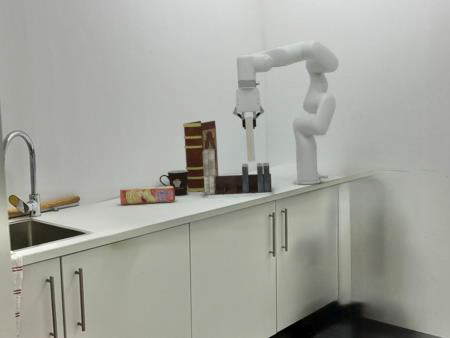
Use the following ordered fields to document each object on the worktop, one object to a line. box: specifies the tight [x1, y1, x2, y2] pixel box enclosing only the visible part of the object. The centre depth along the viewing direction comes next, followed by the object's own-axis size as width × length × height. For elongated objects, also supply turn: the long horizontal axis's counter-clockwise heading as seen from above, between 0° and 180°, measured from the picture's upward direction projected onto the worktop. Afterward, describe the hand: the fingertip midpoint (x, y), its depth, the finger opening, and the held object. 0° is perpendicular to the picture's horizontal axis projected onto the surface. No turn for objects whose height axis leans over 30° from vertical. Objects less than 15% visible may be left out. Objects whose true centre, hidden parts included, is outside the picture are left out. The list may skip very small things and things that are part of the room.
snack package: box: [119, 185, 176, 206], centre depth 249 cm, size 21×7×7 cm, turn 99°
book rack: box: [203, 149, 273, 197], centre depth 263 cm, size 28×14×19 cm, turn 94°
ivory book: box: [244, 116, 256, 162], centre depth 261 cm, size 3×11×18 cm, turn 4°
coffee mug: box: [159, 169, 188, 197], centre depth 267 cm, size 12×9×10 cm
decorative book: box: [182, 120, 219, 193], centre depth 282 cm, size 22×8×30 cm, turn 168°
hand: (249, 128), depth 261 cm, fingers closed on ivory book, 3 cm apart
